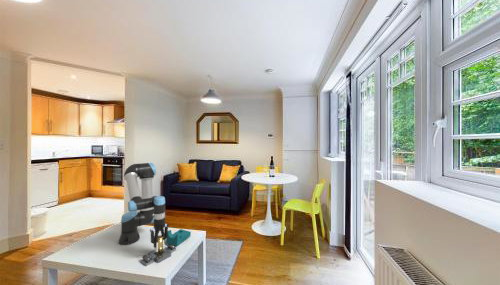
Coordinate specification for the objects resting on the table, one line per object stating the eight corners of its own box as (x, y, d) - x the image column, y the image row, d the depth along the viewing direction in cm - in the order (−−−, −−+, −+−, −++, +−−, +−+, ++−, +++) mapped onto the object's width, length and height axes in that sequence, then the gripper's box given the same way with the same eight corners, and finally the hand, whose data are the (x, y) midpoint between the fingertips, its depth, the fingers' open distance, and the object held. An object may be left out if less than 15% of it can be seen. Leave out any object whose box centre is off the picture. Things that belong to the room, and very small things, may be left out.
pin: (154, 253, 144) (154, 237, 144) (160, 250, 148) (160, 234, 148) (158, 256, 141) (158, 239, 141) (164, 252, 145) (164, 236, 145)
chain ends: (138, 260, 139) (138, 254, 139) (168, 246, 158) (168, 241, 158) (149, 268, 131) (149, 261, 131) (178, 252, 150) (178, 246, 150)
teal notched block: (176, 247, 157) (177, 235, 157) (165, 244, 160) (166, 231, 160) (190, 237, 174) (191, 225, 174) (180, 234, 177) (181, 223, 177)
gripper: (150, 223, 135) (150, 257, 135) (173, 215, 149) (173, 246, 149) (144, 220, 139) (144, 253, 139) (167, 213, 154) (167, 243, 154)
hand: (159, 249), depth 144 cm, fingers closed on pin, 4 cm apart
